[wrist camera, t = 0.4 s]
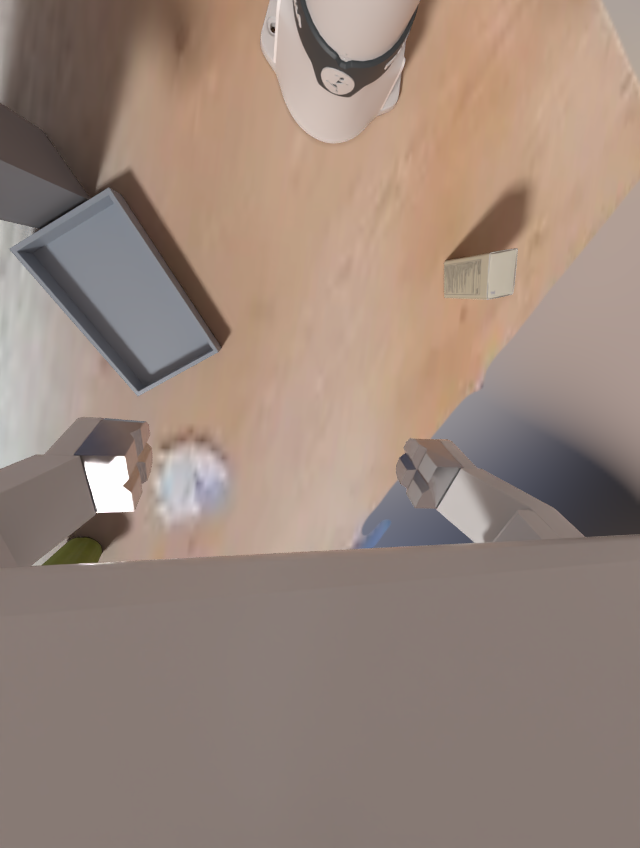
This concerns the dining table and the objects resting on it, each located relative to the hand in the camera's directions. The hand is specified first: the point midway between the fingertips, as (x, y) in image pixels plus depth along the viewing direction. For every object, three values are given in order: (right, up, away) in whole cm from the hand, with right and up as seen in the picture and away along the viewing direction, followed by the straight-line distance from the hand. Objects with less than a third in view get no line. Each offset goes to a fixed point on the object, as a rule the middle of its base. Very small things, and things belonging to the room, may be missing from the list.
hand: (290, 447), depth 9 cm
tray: (-29, +20, +38) cm, 51 cm away
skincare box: (+25, +27, +43) cm, 57 cm away
